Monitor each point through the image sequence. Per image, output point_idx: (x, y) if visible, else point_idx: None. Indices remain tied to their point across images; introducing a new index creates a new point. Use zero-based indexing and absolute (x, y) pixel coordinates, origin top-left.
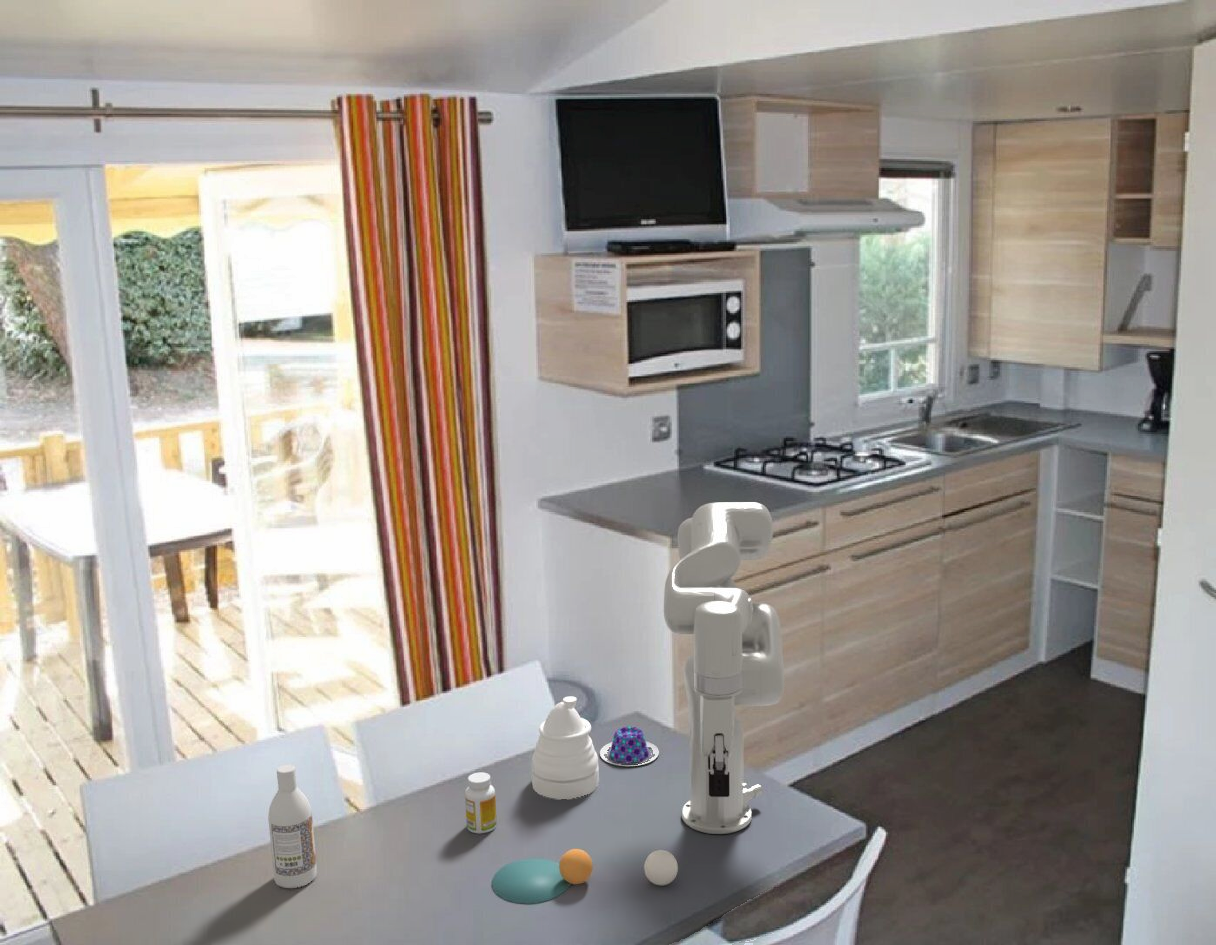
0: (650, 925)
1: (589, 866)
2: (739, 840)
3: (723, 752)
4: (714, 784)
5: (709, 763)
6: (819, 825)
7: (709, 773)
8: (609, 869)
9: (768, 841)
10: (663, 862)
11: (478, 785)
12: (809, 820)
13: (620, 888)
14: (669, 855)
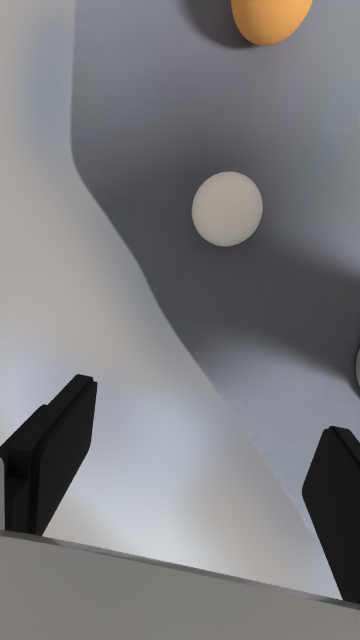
0: (96, 173)
1: (248, 20)
2: (329, 378)
3: (343, 572)
4: (20, 429)
5: (338, 450)
6: None
7: (10, 448)
8: (295, 107)
9: (311, 420)
10: (203, 209)
11: None
12: None
13: (220, 126)
14: (222, 227)
